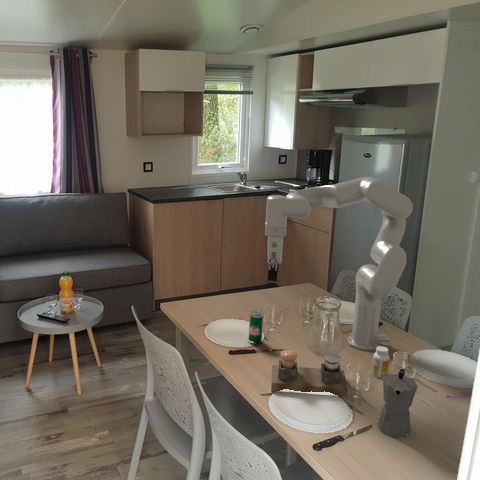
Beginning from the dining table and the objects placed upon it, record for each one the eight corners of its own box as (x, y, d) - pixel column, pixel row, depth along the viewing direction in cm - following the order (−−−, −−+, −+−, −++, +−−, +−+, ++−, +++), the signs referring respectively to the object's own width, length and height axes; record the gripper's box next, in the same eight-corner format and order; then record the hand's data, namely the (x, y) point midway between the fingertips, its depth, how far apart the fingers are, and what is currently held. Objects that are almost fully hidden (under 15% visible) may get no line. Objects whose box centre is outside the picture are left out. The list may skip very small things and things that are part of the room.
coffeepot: (408, 446, 147) (417, 387, 142) (373, 437, 150) (381, 379, 145) (413, 416, 161) (420, 362, 156) (381, 409, 164) (387, 355, 159)
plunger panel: (342, 378, 181) (344, 361, 179) (347, 397, 170) (348, 378, 168) (272, 372, 183) (273, 355, 181) (271, 391, 171) (272, 372, 169)
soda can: (246, 343, 204) (248, 314, 201) (251, 338, 208) (252, 309, 205) (259, 345, 202) (261, 316, 199) (263, 340, 207) (265, 311, 204)
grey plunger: (338, 367, 176) (339, 353, 175) (339, 375, 171) (341, 361, 170) (322, 365, 177) (323, 352, 176) (323, 373, 172) (324, 360, 171)
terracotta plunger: (295, 363, 177) (296, 350, 176) (296, 371, 172) (297, 358, 171) (280, 362, 178) (281, 349, 177) (280, 370, 173) (280, 356, 172)
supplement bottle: (387, 372, 187) (390, 346, 184) (387, 379, 182) (390, 353, 179) (371, 369, 188) (374, 344, 186) (370, 376, 183) (374, 350, 181)
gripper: (285, 237, 181) (282, 285, 185) (286, 225, 197) (284, 269, 202) (263, 235, 182) (260, 283, 186) (266, 224, 198) (264, 268, 203)
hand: (273, 276), depth 194 cm, fingers open, 9 cm apart
